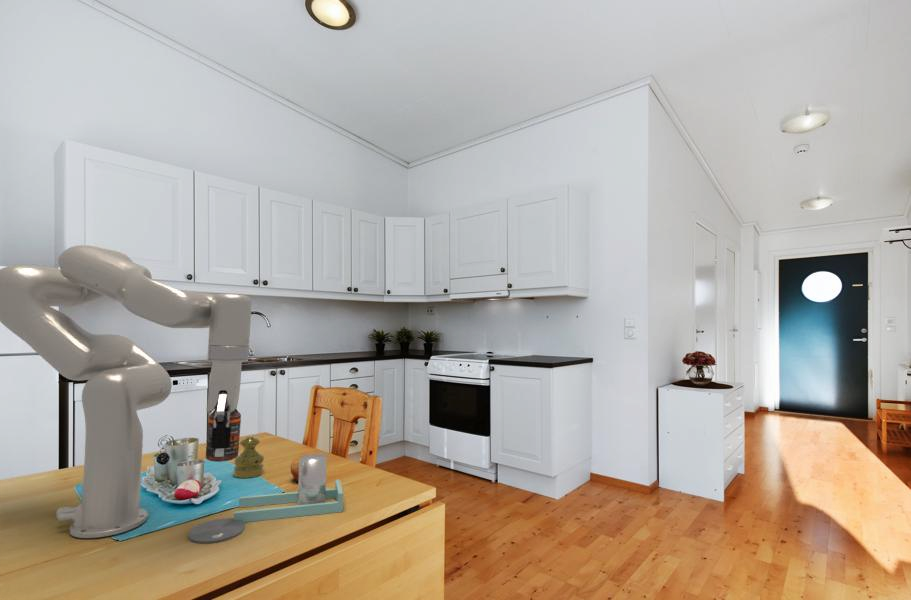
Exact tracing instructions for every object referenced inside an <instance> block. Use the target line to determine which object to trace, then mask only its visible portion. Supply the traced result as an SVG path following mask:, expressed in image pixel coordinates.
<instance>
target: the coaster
mask: <svg viewBox="0 0 911 600" xmlns="http://www.w3.org/2000/svg"><path fill="white" fill-rule="evenodd" d="M245 529H246V522H244V521H242V520H234V517H224V518H223V517H221V518H215V519H210V520H207V521H202V522H201V523H198V524H197V525H194V526H193V527H192V528H191V529H190V530H189V531H188V536H187V537H188V540H189V541H190V542H193V543H195V544H215V543H222V542H226V541H228V540H232V539H233V538H236V537H238V536H239V535H242V533H243V532H244V531H245Z"/></svg>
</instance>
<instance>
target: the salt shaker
mask: <svg viewBox="0 0 911 600" xmlns="http://www.w3.org/2000/svg"><path fill="white" fill-rule="evenodd" d="M260 441H261V440H260V439H259V438H256V437H254V436H247V437H246V438H244V439H242V440H239V445H241V446H242V447H243V449H244V450H243V451H242V452H241V453H240V454H238V456H237V457H236V458H234V459H233V461H234V462H233V463H234V465H235V466H234V467H233V476H234V477H236V478H238V477H239V478H238V479H250V478H249V477H251V478H255V476H256V477H258V476H261V475H262V474H263V472H264V464H263V462H264V459H265V457H264V456H263V454H261V453H259V451H257V450H256V446H257V445H259V444H260Z"/></svg>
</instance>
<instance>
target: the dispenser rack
mask: <svg viewBox="0 0 911 600" xmlns="http://www.w3.org/2000/svg"><path fill="white" fill-rule="evenodd" d="M334 483H335V484H334V485H335V486H334V487H335V488H326V495H325V500H332V499H334V500H335V499H336V500H335V501H327V502H326V501H325V503H316V504H306V505H298V504H296V505H289V506H278V507H277V506H275V507H268V508H267V507H266V508H258V509H257V508H256V509H247V510H238V511H234V512H233V518H234V520H242V521H244V522H245V523H248V522H258V521H267V520H268V521H269V520H276V519H288V518H294V517H295V518H296V517H304V516H307V517H308V516H314V515H325V514H333V513H342V512H343V510H344V509H343V505H344V493H343V487H342V483H341V480H340V479H335V482H334ZM288 503H289V504H291V503H298V491H291V492H282V493H281V492H280V493H269V494H260V495H259V494H258V495H257V494H256V495H244V496H239V498H238V508H249V507H259V506H260V507H261V506H269V505H279V504H282V505H283V504H288Z"/></svg>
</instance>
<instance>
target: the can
mask: <svg viewBox="0 0 911 600" xmlns="http://www.w3.org/2000/svg"><path fill="white" fill-rule="evenodd" d="M327 461H328V459H327V455H326V454H321V453H316V454H309V455H304V456H302V457H300V458H299V481H297V482H298V484H297V485H298V487H297V490H298V491H297V492H298V502H297V505H306V504H316V503H326V499H325V495H326V489H327V484H326V483H327V463H328V462H327Z"/></svg>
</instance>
